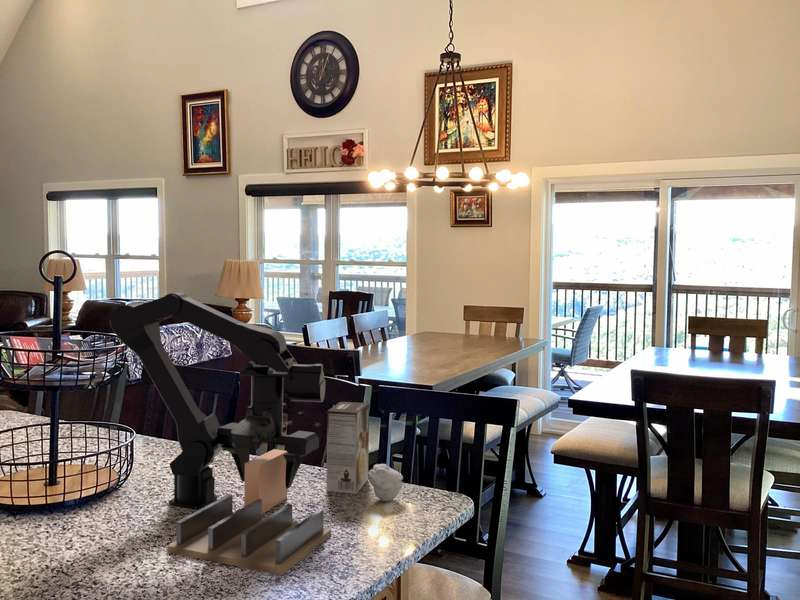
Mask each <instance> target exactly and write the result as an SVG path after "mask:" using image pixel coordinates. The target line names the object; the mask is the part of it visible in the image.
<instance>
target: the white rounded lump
mask: <svg viewBox="0 0 800 600" xmlns="http://www.w3.org/2000/svg"><path fill="white" fill-rule="evenodd" d="M367 473H368V480H367V481H368V482H369V483H370V485H371V486H372V487H373V494H374V495H375V497H376V498H377V499H379V500H381V501H382V502H391V501H394V500H395V499H396V498H397V497H398V495H399V493H400V491H401V490H402V486H403V481H402V480H403V479H404V476H403V475H402V474H401V473H400V472H399V471H397V470H396V469H393V468H391V467H390V466H388V465H387V464H386V463H380V464H379V463H375V464H374V465H373V467H372V469H371V468H370V470H368V472H367Z"/></svg>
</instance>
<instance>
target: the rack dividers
mask: <svg viewBox="0 0 800 600" xmlns="http://www.w3.org/2000/svg"><path fill="white" fill-rule="evenodd" d="M233 496H234V495H233V494H231V493H227V495H224V496H222V497H221V498H219V499H216V500H214V501H212V502H210V503H208V504H206V505H205V506H203V507H202V508H199V509H198V510H197V511H195V512H193V513H190V514H188V515H187V516H184V517H183V518H181V519H179V520H177V521H175V522H176V525H175V527H176V528H175V529H176V534H175V535H176V537H175V538H176V540H175V541H176V544H178V545H182V544H183V543H185V542H187V541H189V540H190V539H192V538H194V537H195V536H197V535H199V534H201V533H202V532H204V531H206V530H207V529H208V550H209V551H214V550H216V549H217V548H219V547H220V546H222V545H223V544H225V543H226V542H228V541H230V540H231V539H233V538H234V537H236V536H237V535H239V534H240V533H242V532H243V533H242V534H241V557H244V558H246V557H248V556H249V555H250V554H252V553H253V552H255V551H256V550H258V549H259V548H260V547H262V546H263V545H265V544H266V543H267V542H269V541H270V540H272V539H273V538H275V537H276V536H277V535H279V534H280V533H282V532H283V531H284V530H286V529H287V528H289V527H290V526H292V523H293V504H291V503H288V504H285V505H284V506H282V507H280V508H279V509H278V510H276V511H275V512H273V513H271V514H270V515H268V516H266V517H264V518H265V519H264V520H262V517H263V515H262V514H263V513H262V500H261V499H257V500H255V501H253V502H252V503H250V504H248V505H247V506H245V507H244V506H243V507H242V508H239V509H238V510H236V511H235V512H233ZM232 512H233V514H232ZM324 514H325V509H324V508H318V509H317V510H316V511H314V512H313V513H311V514H310V515H309V516H307V517H306V518H304V519H303V520H301V521H300V522H298V524H297V525H296V526H295V527H293V528H292V529H290V530H289V531H288V532H286V533H285V534H283V535H282V536H281V537H279V538H278V539H276V555H275V564H281V563H283V562H284V561H285V560H287V559H288V558H289V557H290V556H292V555H293V554H294V553H295V552H297V551H298V550H299V549H301V548H302V547H303V546H304V545H306V544H307V543H308V542H309V541H311V540H312V539H313V538H315V537H316V536H317V535H318V534H320V533H321V532H322V531H323V530H324V528H325V526H324V521H325V517H324V516H325V515H324ZM261 520H262V521H261ZM259 521H261V522H259ZM258 522H259V523H258ZM256 523H257V524H256ZM255 524H256V525H255ZM253 525H254V526H253ZM251 526H253V527H251ZM250 527H251V528H250ZM248 528H250V529H248ZM247 529H248V530H247ZM245 530H247V531H245ZM244 531H245V532H244Z"/></svg>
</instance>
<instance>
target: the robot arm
mask: <svg viewBox="0 0 800 600" xmlns="http://www.w3.org/2000/svg"><path fill="white" fill-rule="evenodd" d="M171 317H176V318H178V319H180V320H181V321H184V322H186V323H188V324H190V325H193V326H194V327H196V328H198V329H200V330H203V331H205V332H207V333H209V334H211V335H214V336H216V337H217V338H220V339H222V340H224V341H226V342H227V343H230V344H231V345H233V346H234V347H235V348H236V349H237V350H238V351H240V353H241V354H243V355H244V356H245V357H247V358H248V359H249V360H250V361H249V362H248V363H247V365H246V366H245V367H244V368H243V369H242V370H241V371H240V372H239V376H241V377H243V376H244V377H247V376H248V377H251V382H250V384H251V385H250V386H251V387H250V389H251V390H250V392H251V393H250V406H247V407H246V410H245V417H244V419H241V420H240V421H239V422H229V423H227V424H225V425H222V426H221V425H220V423H219V421H218V418H217V416H216V414H215V413H213V412H212V413H211V414H210V415H209V416H207V415H206V414H205V413H204V412H202V411H201V409H199V407H198V405H197V403H196V402H195V400H194V398H193V396H192V395H191V392H190V391H189V389H188V387H187V386H186V384H185V382H184V380H183V379H182V377H181V376H180V373H179V372H178V370H177V367H176V366H175V365H174V362H173V361H172V360H171V357H170V356H169V354H168V352H167V350H166V349H165V347H164V345H163V342H162V333H161V328H160V324H159V322H161V321H162V322H163V321H164V320H166V319H169V318H171ZM109 319H110V320H109V325H110V327H111V330H112V332H113V333H114V334H115V335H116V336H117V338H118V339H119V340H120V341H121V342H122V344H123V345H124V346H126V347H127V348H129V349H130V350H131V351H132V352H133V353H134V354H135V355H137V357H138V358H139V360H140V362H141V363H142V365H143V367H144V368H145V370H146V372H147V374H148V376H149V378H150V379H151V381H152V383H153V384H154V387H155V388H156V390H157V391H158V394H159V395H160V397H161V399H162V401H163V402H164V404H165V406H166V408H167V409H168V411H169V413H170V415H171V417H172V419H173V421H175V425H176V432H177V440H178V444H179V446H180V449H181V452H180V453H179V454H178V455H177V456H176V457H175V458H174V459H173V460H172V461H170V463H169V467H170V470H171V474H172V475H173V478H174V479H173V497H174V498H172V499H170V500H168V504H169V505H172V506H178V507H184V508H189V509H198V510H199V509H201V507H202V508H203V507H205V506H207V505H209V504H211V503H212V502H214V501H216V500H218V498H219V497H218V495H217V494H215V481H216V480H215V479H216V478H215V476H213V475H214V474H213V473H214V469H213V467H210V464H213V462H214V460H215V458H216V457H217V456H218V455H219V454H220V453H221V452H222V451H223V449H224V450H226V451H227V452H228V453H229V454H230V455H231V456H232V458H233V460H234V463H235V466H236V469H237V472H238V474H239V477H240V479H241V482H244V483H245V463H246V462H248V461H250V455H251V452H254V451H257V450H259V449H260V448H261V445H262V444H270V445H275V446H276V445H278V446H284V449H285V450H284V451H287V453H285V454H283V456H284V458H285V460H286V478H285V483H286V488H287V490H288V489H290V488H291V487H292V484H293V483H294V480H295V477H296V476H297V473H298V470H299V468H300V466H301V464H302V462H304V459H305V457H307V456H306V455H308V454H310V453H312V452H313V451H315V450H317V449H318V448H319V447H320V437H319V436H318V434H317V433H316V432H311V431H304V430H297V431H295V432H294V433H290V434H284V433H285V432H287V425H284V424H283V421H284V418H283V417H284V411H285V410H287V406H288V405H287V403H284V395H286V396H287V398H289V399H290V401H291V402H307V403H311V402H312V403H313V402H315V403H323V402H324V400H325V396H326V395H325V394H326V379H325V373H324V364H322V363H314V364H303V363H302V364H301V363H299V364H298V362H297V361H296V359H295V357H294V356H293V355H292V353H291V352H290V350H289V349H288V348H287V341H286V338H285V336H284V335H283V334H282V333H281V332H280V331H279V330H275V329H272V328H269V327H265V326H261V325H256V324H251V323H247V322H242V321H240V320H238V319H236V318H234V317H232V316H230V315H227V314H225V313H223V312H221V311H219V310H217V309H215V308H212V307H210V306H208V305H206V304H204V303H202V302H200V301H198V300H196V299H193V298H191V297H189V296H188V295H187V294H185V292H184V293H183V292H172V293H167V294H166V295H164V296H162V297H159V298H157V299H154V300H151V301H147V302H145V303H143V302H136V303H135V302H134V303H130V304H123V305H120V306H117V307H116V308H115V309H114V311H112V313H111V316H110V318H109Z"/></svg>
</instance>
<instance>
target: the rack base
mask: <svg viewBox="0 0 800 600" xmlns="http://www.w3.org/2000/svg"><path fill="white" fill-rule="evenodd" d="M233 513H234V512H233V511H232V514H233ZM265 518H266V517H263V516H262V520H264V519H265ZM262 520H261V521H262ZM261 521H259V522H261ZM259 522H258V523H259ZM256 524H257V523H256ZM256 524H255V525H256ZM297 524H299V522H298V523H296V522H292V526H290V527H289V528H287V529H286V530H284V531H283V532H282V533H280V534H279V535H277V536H276V537H275V538H273V539H272V540H270V541H269V542H267V543H266V544H265V545H263V546H262V547H260V548H259V549H258V550H256V551H255V552H253V553H252V554H250V555H249V556H248V557H246V558H244V557H241V534H242V533H243V532H242V533H240V534H239V535H237V536H236V537H234V538H233V539H231V540H230V541H228V542H226V543H225V544H223V545H222V546H220V547H219V548H217V549H216V550H214V551H209V550H208V529H207V530H206V531H204V532H202V533H201V534H199V535H197V536H195V537H194V538H192V539H190V540H189V541H187V542H185V543H183V544H182V545H178V544H176V540H174V541H173V542H172V543H170V544H168V545H167V547H166V548H167V549H166V550H167V553H170V554H176V555H180V556H184V557H189V558H194V559H195V558H196V559H200V560H205V561H210V562H216V563H219V564H220V563H221V564H225V565H228V566H229V565H230V566H236V567H240V568H243V569H244V568H246V569H250V570H255V571H261V572H266V573H270V574H275V575H280V576H283V575H284V574H286V573H287V571H289V570H290V569H292V567H294V566H295V565H297V564H298V563H299V562H300V561H301V560H303V559H304V558H305V557H307V555H309V554H311V552H313V550H315V549H316V548H317V547H318V546H319V545H321V544H322V543H323V542H324V541H326V540H327V539H328V538H329V537H330V536H331V535H332V529H331V528H325V527H324V530H323V531H322V532H321V533H320V534H318V535H317V536H316V537H315V538H313V539H312V540H311V541H309V542H308V543H307V544H306V545H304V546H303V547H302V548H301V549H299V550H298V551H297V552H295V553H294V554H293V555H292V556H290V557H289V558H288V559H287V560H285V561H284V562H283V563H281V564H275V555H276V539H278V538H279V537H281V536H282V535H283V534H285V533H286V532H288V531H289V530H290V529H292V528H293V527H295V526H296V525H297ZM253 526H254V525H253ZM253 526H251V527H253ZM251 527H250V528H251ZM250 528H248V529H250ZM248 529H247V530H248ZM247 530H245V531H247ZM245 531H244V532H245Z"/></svg>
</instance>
